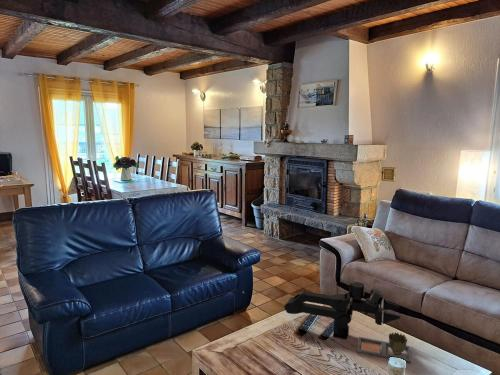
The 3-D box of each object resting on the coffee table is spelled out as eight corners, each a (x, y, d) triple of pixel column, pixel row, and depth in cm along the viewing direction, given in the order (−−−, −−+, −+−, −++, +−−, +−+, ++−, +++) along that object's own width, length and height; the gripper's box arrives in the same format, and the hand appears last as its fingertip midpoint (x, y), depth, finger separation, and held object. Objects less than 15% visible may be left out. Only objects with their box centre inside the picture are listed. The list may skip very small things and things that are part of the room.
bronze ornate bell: (407, 359, 152) (408, 342, 151) (389, 357, 154) (390, 340, 152) (403, 349, 159) (405, 333, 158) (386, 347, 161) (387, 331, 160)
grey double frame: (356, 352, 157) (357, 350, 157) (358, 338, 167) (358, 336, 167) (411, 364, 149) (411, 361, 149) (409, 348, 160) (409, 346, 159)
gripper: (363, 298, 155) (401, 305, 149) (365, 281, 172) (400, 286, 166) (361, 322, 157) (399, 329, 151) (364, 303, 174) (398, 308, 168)
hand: (399, 312), depth 159 cm, fingers open, 9 cm apart
